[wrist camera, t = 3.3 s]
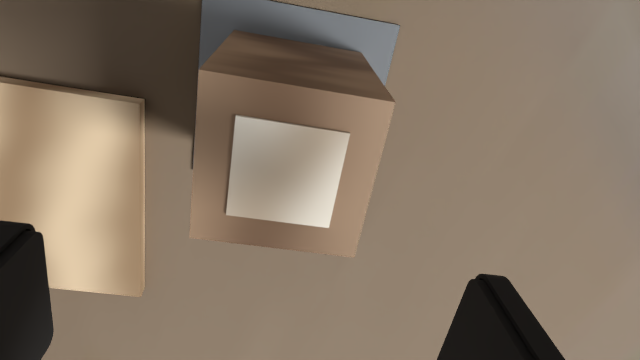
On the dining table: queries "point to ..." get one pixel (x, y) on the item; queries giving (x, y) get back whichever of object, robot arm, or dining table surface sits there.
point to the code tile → (297, 29)
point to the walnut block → (286, 144)
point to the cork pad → (77, 181)
